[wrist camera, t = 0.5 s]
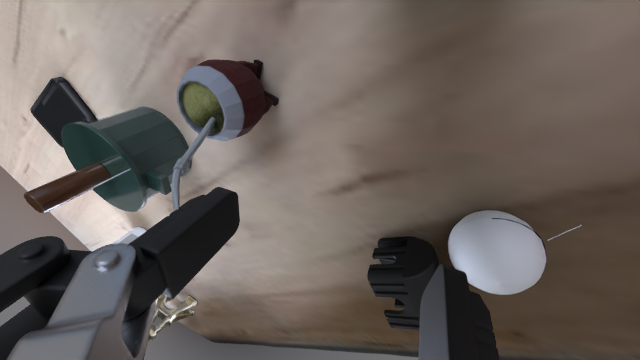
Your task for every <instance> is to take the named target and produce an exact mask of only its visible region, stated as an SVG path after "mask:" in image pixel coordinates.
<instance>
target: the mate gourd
mask: <svg viewBox="0 0 640 360" xmlns="http://www.w3.org/2000/svg"><path fill="white" fill-rule="evenodd" d="M262 65H263V63H262V62H261V61H259V60H254V63H250V62H246V61H239V62H236V61H230V60H207V61H204V62H202V63H200V64H199V65H197V66H195V67H193V68H191V69H190V70H188V71H186V72H185V74H184V76H183V77H182V80H181V82H180V84H179V86H178V89H177V103H178V106H179V109H180V112H181V114H182V116H183V118H184V119H185V121H186V123H187V124H188V125H189V126H190V127H191V128H192V129H193V130H194V131H195V132H197V133H198V134H199V135H198V137H197V138H196V139H195V141H194V142H193V143H192V145H191V146H190V147H189V149H188V150H187V151H186V153H185V154H184V155H183V157H182V158H179V159H178V161H177V162H176V164H175V166H174V167H173V170H174V172H173V177H172V185H171V187H172V198H173V208H174V211H175V210H176V209H177V210H178V209H179V183H180V177H181V174H182V173H184V171H185V170H186V168H187V166H188V164H189V162H188V161H189V160H190V159H191V157H192V156H193V155H194V153H195V152H196V150H197V149H198V148H199V146H200V145H201V143H202V142H203V141H204V139H205V138H209V139H215V140H221V141H227V140H230V139H234V138H236V137H239V136H242V135H244V134H246V133H248V132H249V131H250V130H251V129H252V128H253V127H254V126H255V125H256V124H257V122H258V121H259V120H260V119H261V117H262V116H263V115H264V114H265V113H266V112H267V111H268V110H269V109H270V107H271V106H272V105H274V106H276V105H277V104H278V101H279V100H278V98H276V97H275V96H273V95H271V94H269V93H268V92H266V91H264V89H263V87H262V85H261V83H260V81H259V80H260V75H261V70H262Z"/></svg>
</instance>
